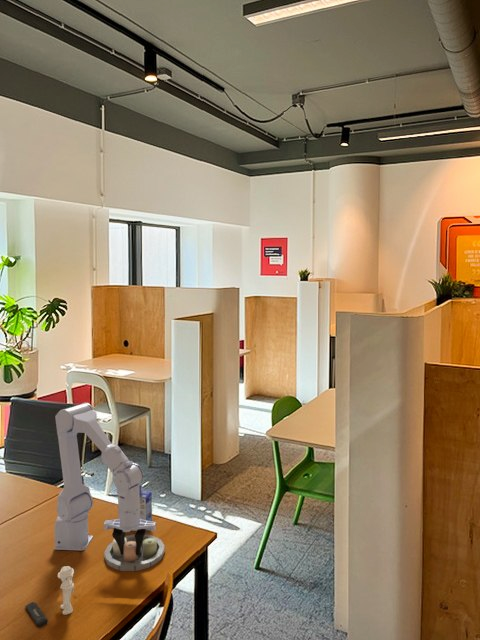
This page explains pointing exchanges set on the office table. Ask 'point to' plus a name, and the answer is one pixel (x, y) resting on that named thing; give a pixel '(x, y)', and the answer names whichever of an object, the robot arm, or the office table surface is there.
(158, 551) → the tray
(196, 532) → the office table surface
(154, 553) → the bead olive
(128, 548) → the bead terracotta
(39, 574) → the office table surface
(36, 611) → the usb stick
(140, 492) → the ink cartridge box
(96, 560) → the office table surface
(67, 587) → the hat wearing toy figure
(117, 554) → the bead cream
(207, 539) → the office table surface
